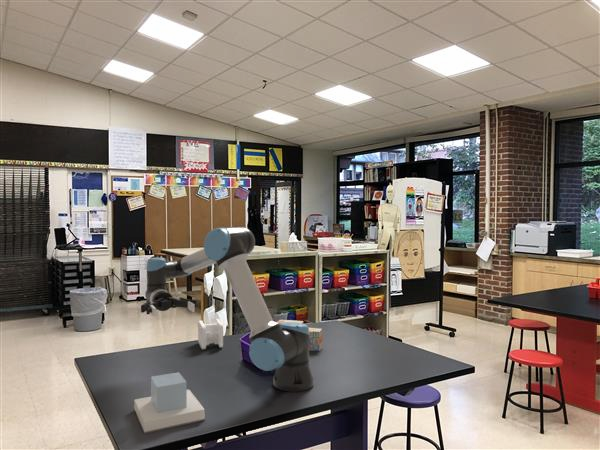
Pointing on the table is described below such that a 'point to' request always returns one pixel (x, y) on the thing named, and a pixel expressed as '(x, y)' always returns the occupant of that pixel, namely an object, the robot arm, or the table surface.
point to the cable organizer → (210, 333)
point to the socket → (168, 414)
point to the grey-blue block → (168, 392)
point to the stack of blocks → (311, 336)
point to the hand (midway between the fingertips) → (174, 310)
